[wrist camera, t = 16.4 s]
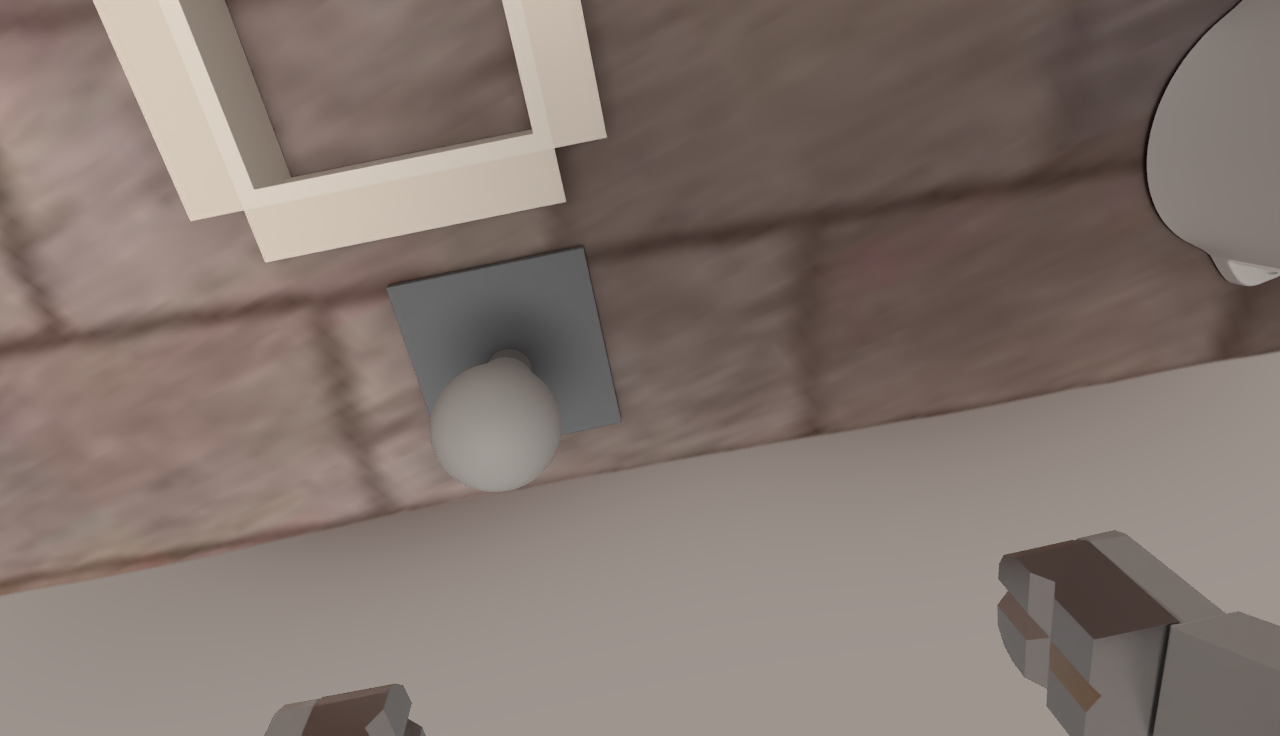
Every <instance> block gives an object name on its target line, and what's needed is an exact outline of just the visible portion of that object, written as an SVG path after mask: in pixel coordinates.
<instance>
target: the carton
mask: <svg viewBox="0 0 1280 736" xmlns="http://www.w3.org/2000/svg"><path fill="white" fill-rule="evenodd" d="M93 2H94V4H95V7H96V9H97V11H98V13H99V16H100V18H101V20H102V22H103V25H104V27H105V29H106V31H107V34H108V36H109V38H110V41H111V43H112V45H113V47H114V50H115V52H116V54H117V56H118V59H119V61H120V63H121V65H122V68H123V70H124V72H125V74H126V77H127V79H128V81H129V83H130V86H131V88H132V90H133V93H134V95H135V97H136V99H137V102H138V104H139V106H140V108H141V111H142V113H143V115H144V117H145V120H146V122H147V124H148V126H149V129H150V131H151V133H152V135H153V138H154V140H155V142H156V144H157V147H158V149H159V151H160V154H161V156H162V158H163V160H164V163H165V165H166V167H167V169H168V172H169V174H170V176H171V178H172V181H173V183H174V185H175V187H176V190H177V192H178V194H179V196H180V199H181V201H182V203H183V206H184V208H185V210H186V212H187V215H188V217H189V219H190V221H194V220H199V219H204V218H209V217H214V216H219V215H224V214H229V213H234V212H239V211H244V212H245V214H246V217H247V219H248V222H249V224H250V226H251V229H252V231H253V234H254V236H255V239H256V241H257V244H258V246H259V248H260V251H261V253H262V256H263V258H264V261H265V263H266V262H271V261H276V260H281V259H286V258H291V257H296V256H301V255H306V254H310V253H315V252H320V251H325V250H330V249H335V248H340V247H345V246H350V245H355V244H360V243H365V242H370V241H375V240H380V239H385V238H390V237H395V236H400V235H405V234H409V233H414V232H419V231H424V230H429V229H434V228H439V227H444V226H449V225H454V224H459V223H464V222H469V221H474V220H479V219H484V218H489V217H494V216H499V215H504V214H508V213H513V212H518V211H523V210H528V209H533V208H538V207H543V206H548V205H553V204H558V203H563V202H566V198H565V193H564V189H563V184H562V180H561V175H560V171H559V166H558V162H557V157H556V153H555V148H558V147H563V146H568V145H573V144H578V143H583V142H588V141H593V140H598V139H603V138H607V136H606V130H605V125H604V120H603V115H602V110H601V104H600V99H599V94H598V89H597V84H596V78H595V73H594V68H593V63H592V58H591V52H590V47H589V42H588V37H587V32H586V26H585V21H584V16H583V11H582V6H581V0H502V2H503V6H504V11H505V15H506V19H507V24H508V28H509V32H510V36H511V41H512V45H513V49H514V54H515V58H516V62H517V67H518V71H519V75H520V79H521V84H522V88H523V92H524V97H525V101H526V105H527V110H528V114H529V118H530V122H531V127H532V129H530V130H525V131H520V132H515V133H510V134H505V135H500V136H496V137H491V138H486V139H481V140H476V141H471V142H466V143H461V144H456V145H451V146H446V147H441V148H436V149H431V150H426V151H421V152H416V153H411V154H406V155H401V156H396V157H391V158H386V159H381V160H376V161H371V162H366V163H361V164H356V165H351V166H346V167H341V168H336V169H331V170H326V171H321V172H316V173H311V174H306V175H301V176H296V177H291V176H290V173H289V170H288V168H287V165H286V162H285V160H284V157H283V154H282V151H281V149H280V146H279V143H278V141H277V138H276V135H275V133H274V130H273V127H272V125H271V122H270V119H269V117H268V114H267V111H266V109H265V106H264V103H263V101H262V98H261V95H260V93H259V90H258V87H257V85H256V82H255V79H254V77H253V74H252V71H251V69H250V66H249V63H248V61H247V58H246V55H245V53H244V50H243V47H242V45H241V42H240V39H239V37H238V34H237V31H236V29H235V26H234V23H233V21H232V18H231V15H230V13H229V10H228V7H227V5H226V2H225V0H93Z"/></svg>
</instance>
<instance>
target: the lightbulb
mask: <svg viewBox="0 0 1280 736" xmlns="http://www.w3.org/2000/svg"><path fill="white" fill-rule="evenodd" d="M561 428H562V427H561V414H560V410H559V407H558V404H557V402H556V400H555V398H554V396H553V394H552V392H551V391H550V389H549V388H548V387H547V386H546V384H545V383H544V382H543V381H542V380H541V379H539V378H538V377H537V376H536V375H535V374H533V373H532V369H531V364H530V361H529V359H528V358H527V357H526V356H525V355H524V354H523V353H521V352H519V351H517V350H513V349H504V350H501V351H498V352H497V353H495V354H494V355H493V356H492V357H491V358H490V360H489V362H488V363H487V364H482V365H477V366H475V367H472V368H470V369H467V370H465V371H464V372H462V373H461V374H459V375H458V376H456V377H455V378H454V379H452V380H451V381H450V382H449V383H448V384H447V385H446V386H445V387H444V388H443V390H442V391H441V393H440V394H439V396H438V398H437V400H436V402H435V404H434V407H433V410H432V413H431V419H430V437H431V444H432V446H433V449H434V452H435V455H436V457H437V459H438V461H439V462H440V464H441V466H442V467H443V468H444V469H445V470H446V471H447V473H448V474H449V475H450V476H452V477H453V478H454V479H456V480H457V481H458V482H460V483H462V484H464V485H466V486H468V487H470V488H474V489H477V490H480V491H487V492H503V491H508V490H513V489H516V488H519V487H522V486H524V485H526V484H528V483H529V482H531V481H532V480H534V479H535V478H536V477H538V476H539V475H540V474H541V473H542V472H543V471H544V470H545V469H546V468H547V466H548V465H549V464H550V462H551V461H552V459H553V457H554V455H555V453H556V451H557V448H558V446H559V443H560V438H561Z"/></svg>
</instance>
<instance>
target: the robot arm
mask: <svg viewBox="0 0 1280 736" xmlns="http://www.w3.org/2000/svg"><path fill="white" fill-rule="evenodd" d="M1147 178H1148V185H1149V190H1150V194H1151V197H1152V200H1153V203H1154V205H1155V208H1156V210H1157V212H1158V214H1159V215H1160V217H1161V218H1162V220H1163V221H1164V223H1165V224H1166V225H1167V226H1168V227H1169V229H1171V230H1172V231H1173V232H1174V233H1175V234H1176V235H1177V236H1179V237H1180V238H1181V239H1183V240H1185V241H1186V242H1188V243H1190V244H1192V245H1194V246H1196V247H1198V248H1200V249H1202V250H1204V251H1205V252H1207V253H1208V254H1209V255H1210V256H1211V257H1212V259H1213V261H1214V263H1215V265H1216V266H1217V268H1218V270H1219V271H1220V273H1221V274H1222V276H1223V277H1224V278H1225V279H1226V280H1227V281H1228V282H1230V283H1233V284H1238V285H1244V286H1254V285H1258V284H1261V283H1263V282H1266V281H1268V280H1271V279H1274V278H1276V277H1279V276H1280V0H1242V1H1241V2H1240V3H1239V4H1238V5H1237V6H1236V7H1235V8H1234V9H1233V10H1231V11H1230V12H1229V13H1228V14H1227V15H1226V16H1225V17H1223V18H1222V19H1221V20H1220V21H1219V22H1218V23H1217V24H1215V25H1214V26H1213V27H1212V28H1211V29H1210V30H1209V31H1208V32H1207V33H1206V34H1205V35H1204V36H1203V37H1202V38H1201V39H1200V40H1199V42H1198V43H1197V44H1196V45H1195V46H1194V48H1193V49H1192V50H1191V51H1190V53H1189V54H1188V55H1187V56H1186V58H1185V59H1184V60H1183V62H1182V63H1181V65H1180V66H1179V68H1178V69H1177V71H1176V73H1175V74H1174V76H1173V78H1172V79H1171V81H1170V83H1169V85H1168V87H1167V89H1166V91H1165V93H1164V95H1163V97H1162V99H1161V102H1160V104H1159V107H1158V109H1157V112H1156V115H1155V118H1154V121H1153V125H1152V129H1151V133H1150V138H1149V143H1148V151H1147ZM998 579H999V580H1000V581H1001V583H1002V584H1003V585H1004V586H1005V587H1006V589H1007V590H1008V592H1007V593H1006V594H1005V596H1004V597H1003V598H1002V600H1001V601H1000V603H999V604H998V627H999V630H1000V633H1001V637H1002V640H1003V643H1004V646H1005V648H1006V650H1007V652H1008V654H1009V655H1010V657H1011V659H1012V661H1013V662H1014V664H1015V665H1016V666H1017V668H1018V669H1019V670H1020V672H1021V673H1022V675H1023V676H1024V677H1025V678H1027V679H1029V680H1031V681H1033V682H1035V683H1037V684H1039V685H1041V686H1043V687H1045V688H1046V689H1047V707H1048V709H1049V710H1050V711H1051V712H1052V714H1053V715H1054V716H1055V717H1056V718H1057V720H1058V721H1059V723H1060V724H1061V725H1062V727H1063V728H1064V729H1065V730H1066V732H1067V733H1068V734H1069V736H1280V626H1278V625H1275V624H1272V623H1270V622H1267V621H1264V620H1261V619H1258V618H1256V617H1253V616H1249V615H1247V614H1244V613H1241V612H1234V613H1228V614H1226V613H1225V612H1223V611H1222V610H1221V609H1220V608H1218V607H1217V606H1216V605H1214V604H1213V603H1212V602H1211V601H1210V600H1208V599H1207V598H1206V597H1204V596H1203V595H1202V594H1201V593H1199V592H1198V591H1197V590H1196V589H1194V588H1193V587H1192V586H1191V585H1189V584H1188V583H1187V582H1186V581H1184V580H1183V579H1182V578H1181V577H1179V576H1178V575H1177V574H1176V573H1174V572H1173V571H1172V570H1171V569H1169V568H1168V567H1167V566H1166V565H1164V564H1163V563H1162V562H1161V561H1159V560H1158V559H1157V558H1156V557H1154V556H1153V555H1152V554H1151V553H1149V552H1148V551H1147V550H1146V549H1144V548H1143V547H1142V546H1141V545H1139V544H1138V543H1137V542H1136V541H1134V540H1133V539H1132V538H1131V537H1129V536H1128V535H1126V534H1124V533H1122V532H1118V531H1115V530H1113V531H1109V532H1104V533H1100V534H1095V535H1091V536H1087V537H1082V538H1078V539H1077V540H1070V541H1066V542H1061V543H1056V544H1052V545H1047V546H1043V547H1039V548H1034V549H1029V550H1025V551H1020V552H1016V553H1011V554H1006V555H1004V556H1003V558H1002V559H1001V562H1000V563H999V577H998ZM411 704H412V703H411V701H410V699H409V697H408V694H407V692H406V690H405V688H404V686H403V685H399V684H391V685H385V686H380V687H375V688H369V689H364V690H359V691H353V692H348V693H342V694H337V695H332V696H326V697H322V698H321V699H316V700H309V701H304V702H298V703H293V704H287V705H284V706H283V707H282V708H281V709H280V710H279V711H278V712H277V713H275V715H274V716H273V718H272V721H271V723H270V725H269V727H268V729H267V731H266V733H265V735H264V736H426V735H425V733H424V730H423V728H422V727H421V726H419V725H418V724H416V723H414V722H412V721H411V720H409V719H408V716H409V712H410V708H411Z"/></svg>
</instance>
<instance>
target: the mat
mask: <svg viewBox="0 0 1280 736" xmlns="http://www.w3.org/2000/svg"><path fill="white" fill-rule="evenodd" d="M386 289H387V292H388V295H389V298H390V301H391V304H392V307H393V309H394V312H395V315H396V318H397V321H398V324H399V327H400V330H401V333H402V336H403V339H404V342H405V345H406V347H407V350H408V353H409V356H410V359H411V362H412V365H413V368H414V371H415V374H416V377H417V380H418V382H419V385H420V388H421V391H422V394H423V397H424V400H425V403H426V406H427V409H428V412H429V415H430V417H431V413H432V410H433V407H434V404H435V402H436V400H437V398H438V396H439V394H440V393H441V391H442V390H443V388H444V387H445V386H446V385H447V384H448V383H449V382H450V381H451V380H452V379H454V378H455V377H456V376H458V375H459V374H461V373H462V372H464V371H465V370H467V369H470V368H472V367H475V366H477V365H482V364H487V363H488V362H489V360H490V358H491V357H492V356H493V355H494V354H495V353H497V352H498V351H501V350H504V349H513V350H517V351H519V352H521V353H523V354H524V355H525V356H526V357H527V358H528V359H529V361H530V364H531V369H532V373H533V374H535V375H536V376H537V377H538V378H539V379H541V380H542V381H543V382H544V383H545V384H546V386H547V387H548V388H549V389H550V391H551V392H552V394H553V396H554V398H555V400H556V402H557V404H558V407H559V410H560V414H561V427H562V428H561V435H563V434H568V433H573V432H578V431H583V430H587V429H592V428H597V427H602V426H607V425H612V424H616V423H621V417H620V412H619V408H618V403H617V399H616V394H615V390H614V385H613V380H612V376H611V371H610V367H609V362H608V358H607V353H606V348H605V344H604V339H603V335H602V330H601V326H600V321H599V316H598V312H597V307H596V303H595V298H594V294H593V289H592V284H591V280H590V275H589V271H588V266H587V262H586V257H585V252H584V248H583V246H579V247H574V248H569V249H564V250H559V251H554V252H549V253H544V254H540V255H535V256H530V257H525V258H520V259H515V260H510V261H505V262H500V263H495V264H490V265H485V266H480V267H476V268H471V269H466V270H461V271H456V272H451V273H446V274H441V275H436V276H431V277H426V278H421V279H416V280H411V281H407V282H402V283H397V284H392V285H388V287H387V288H386Z"/></svg>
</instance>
